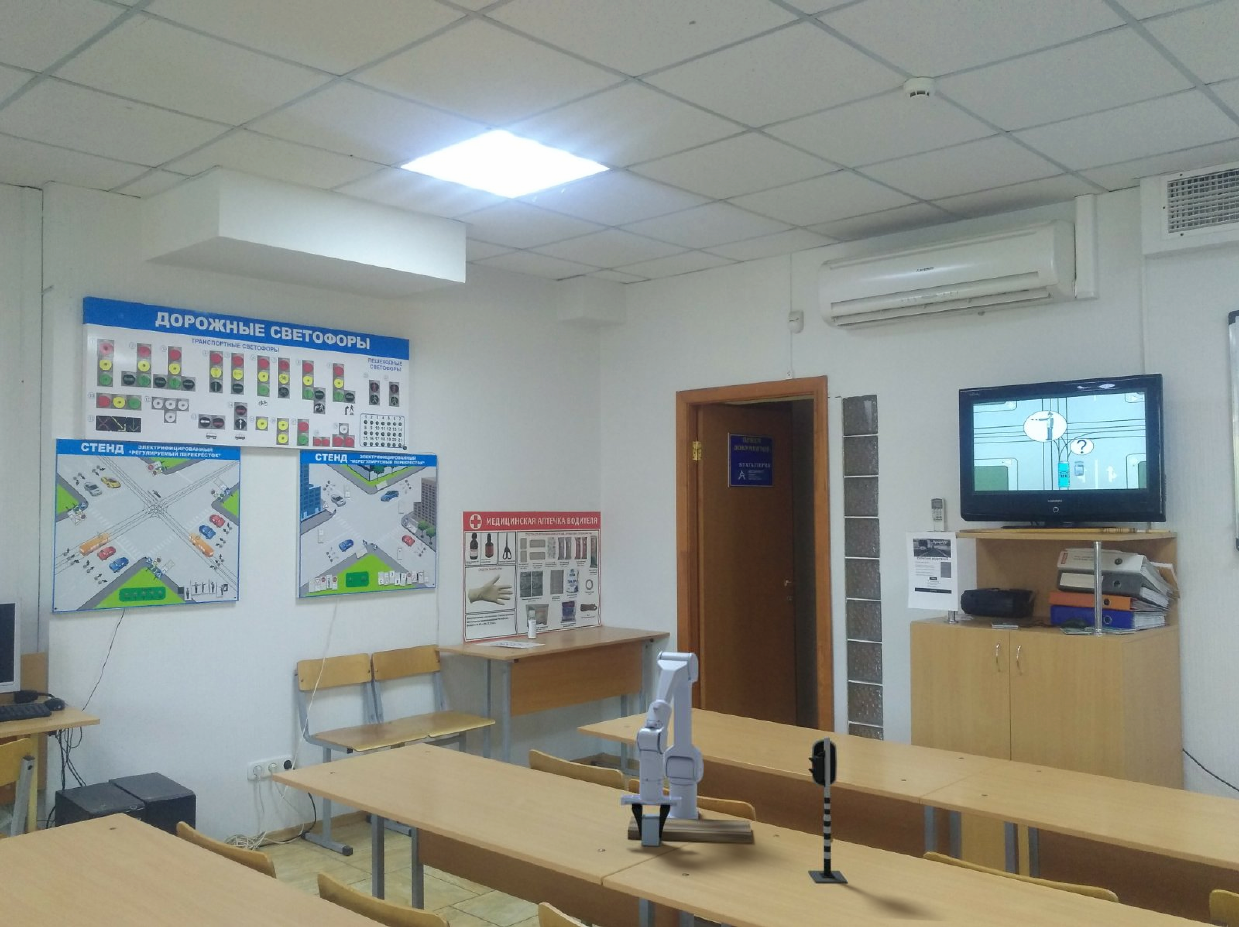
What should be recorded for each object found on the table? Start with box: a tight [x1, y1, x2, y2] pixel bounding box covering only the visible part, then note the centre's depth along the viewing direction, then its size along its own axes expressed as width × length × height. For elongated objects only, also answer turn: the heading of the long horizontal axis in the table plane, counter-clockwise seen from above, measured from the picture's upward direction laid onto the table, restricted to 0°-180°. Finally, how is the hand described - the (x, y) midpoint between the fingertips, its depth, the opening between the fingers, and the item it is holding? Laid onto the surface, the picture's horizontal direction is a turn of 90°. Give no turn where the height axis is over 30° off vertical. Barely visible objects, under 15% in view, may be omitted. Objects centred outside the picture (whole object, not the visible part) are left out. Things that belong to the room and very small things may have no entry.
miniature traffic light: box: [807, 736, 848, 884], centre depth 219 cm, size 8×8×30 cm
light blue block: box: [641, 813, 660, 847], centre depth 242 cm, size 8×4×6 cm, turn 175°
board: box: [627, 816, 753, 844], centre depth 249 cm, size 12×30×2 cm, turn 85°
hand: (650, 836), depth 241 cm, fingers closed on light blue block, 4 cm apart
